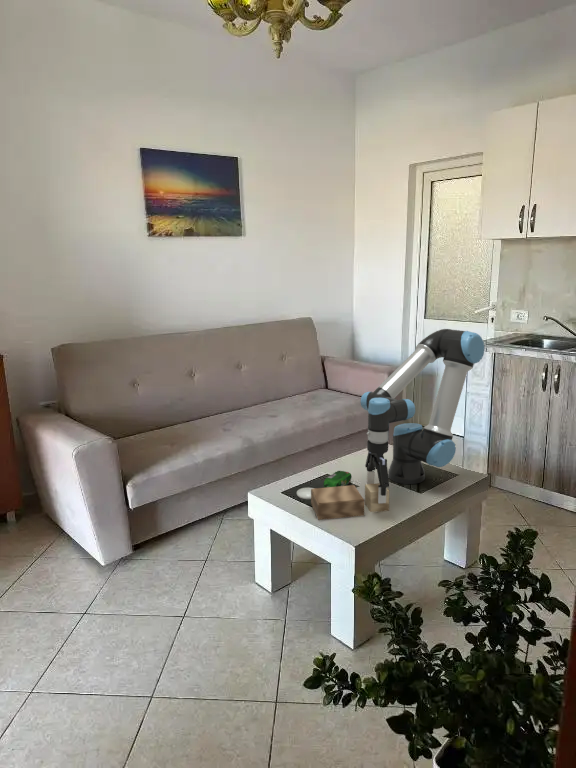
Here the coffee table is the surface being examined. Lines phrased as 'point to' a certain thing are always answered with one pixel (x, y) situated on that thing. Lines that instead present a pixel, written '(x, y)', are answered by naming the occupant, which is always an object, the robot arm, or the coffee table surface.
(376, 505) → the oak block
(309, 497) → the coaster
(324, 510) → the walnut box
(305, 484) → the coffee table surface
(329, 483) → the green toy car
